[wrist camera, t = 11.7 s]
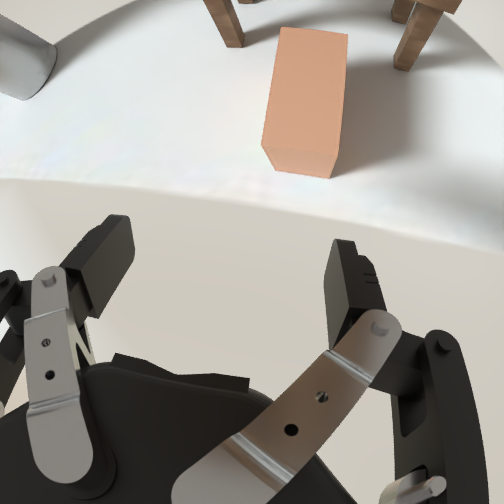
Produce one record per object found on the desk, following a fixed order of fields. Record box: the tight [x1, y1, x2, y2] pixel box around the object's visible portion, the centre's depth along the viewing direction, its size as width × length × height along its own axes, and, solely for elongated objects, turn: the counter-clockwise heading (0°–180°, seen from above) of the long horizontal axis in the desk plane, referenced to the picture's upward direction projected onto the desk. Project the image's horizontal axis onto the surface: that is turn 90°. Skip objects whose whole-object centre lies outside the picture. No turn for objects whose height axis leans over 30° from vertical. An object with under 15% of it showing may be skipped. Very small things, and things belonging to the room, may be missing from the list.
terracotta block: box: [261, 27, 348, 179], centre depth 20 cm, size 4×9×8 cm, turn 171°
